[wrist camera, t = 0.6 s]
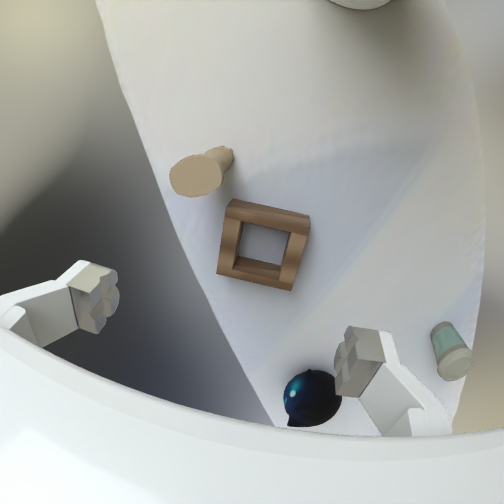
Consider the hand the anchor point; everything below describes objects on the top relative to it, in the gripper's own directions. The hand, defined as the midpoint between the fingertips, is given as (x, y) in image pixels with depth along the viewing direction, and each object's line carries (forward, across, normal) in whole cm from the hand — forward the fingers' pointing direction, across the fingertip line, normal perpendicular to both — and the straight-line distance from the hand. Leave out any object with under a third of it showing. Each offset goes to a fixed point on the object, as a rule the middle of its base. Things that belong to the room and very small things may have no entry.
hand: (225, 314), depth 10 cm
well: (+40, 0, +16) cm, 43 cm away
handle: (+40, +9, +3) cm, 41 cm away
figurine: (+41, -19, +49) cm, 66 cm away
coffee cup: (+41, -44, +28) cm, 66 cm away
